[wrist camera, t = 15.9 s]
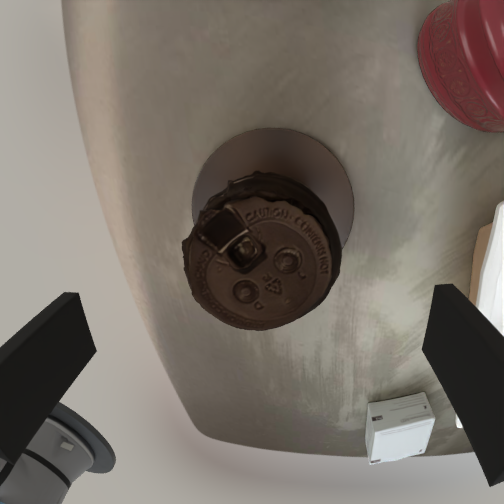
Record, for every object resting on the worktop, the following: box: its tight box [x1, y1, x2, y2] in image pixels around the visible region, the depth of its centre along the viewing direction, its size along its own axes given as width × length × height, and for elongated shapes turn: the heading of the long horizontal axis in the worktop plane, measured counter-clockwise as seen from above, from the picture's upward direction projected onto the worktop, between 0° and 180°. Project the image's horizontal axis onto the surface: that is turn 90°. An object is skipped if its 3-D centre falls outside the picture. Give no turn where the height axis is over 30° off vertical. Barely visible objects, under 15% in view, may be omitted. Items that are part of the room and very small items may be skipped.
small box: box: [365, 392, 435, 465], centre depth 33 cm, size 8×8×5 cm
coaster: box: [192, 128, 354, 249], centre depth 28 cm, size 14×14×1 cm
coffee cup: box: [182, 171, 342, 331], centre depth 21 cm, size 9×8×13 cm
